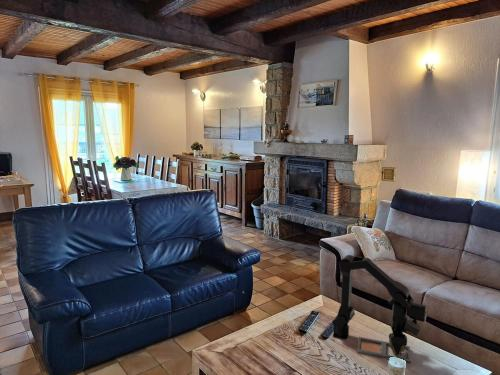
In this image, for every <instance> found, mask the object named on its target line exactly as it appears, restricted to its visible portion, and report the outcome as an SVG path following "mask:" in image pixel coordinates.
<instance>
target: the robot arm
mask: <svg viewBox="0 0 500 375" xmlns="http://www.w3.org/2000/svg"><path fill="white" fill-rule="evenodd" d="M338 263H339V271H340V274H341V294H340V295H341V298H340V299H341V300H340V306H339V309H338V311H337V314H336V315H335V317H334V319H333V320H332V321H331V322H332V325H333V334H332V337H333V338H338V339H343V340H348V337H349V334H350V326H349V322H350V321H351V320H352V319H353V317H355V315H356V314H355V309H356V306H353V305H352V286H353V285H352V284H353V274H354V271H355V270H363V269H364V270H365V271H366V272H368V273H369V274H370V276H372V277H373V278H374V279H375V280H376V281H378V282H379V283H380V285H382V286H383V287H384V288H385V289H386V290H387V292H388V294H389V295H390V296H391V298H390V299H389V300H388V302H387V303H388V304H390V305H391V306H392V312H391V316H390V323H389V324H390V328H391V343H392V345H393V347H394V350H395V352H396V354H399V352H400V350H401V347H402V346H403V345H406V346H408V337H407V335H406V334H405V333H408V332H409V333H410V334H412V335H414V336H415V337H418V335H419V333H420V332H421V331H422V330H421V329H422V328H421V325H420V323H418V322H422V323H426V320H427V314H428V313H427V312H428V310H427V306H426V305H425V304H421V303H420V304H419V303H415V302H414V299H413V297H412V296H411V294H410V289H409V288H408V287H407V286H406V285H405V284H403V283H401V282H399V281H397V280H394V279H393V278H392V277H390V276H389V275H388V274H387V273H386V272H385V271H384V270H383V269H381V268H380V267H379V266H378V265H377V264H376V263H375V262H373V261H372V259H371V258H369V257H362V256H353V255H351V254H347V255H345V256H344V257H343V258H342V259H340V261H339V262H338ZM408 318H410V319H408Z"/></svg>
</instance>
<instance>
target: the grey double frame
mask: <svg viewBox="0 0 500 375" xmlns="http://www.w3.org/2000/svg"><path fill="white" fill-rule="evenodd" d="M357 341H358V342H357V347H356V353H357V354H362V355H367V356H372V357H376V358H381V359H386V360H390V359H389V358H390V357H395V356H393V355H389V354H387V347H390V345H389V341H383V340H378V339H373V338H367V337H363V336H358V340H357ZM405 350H406V351H407V357H408V358H403V357H398V356H396V357H397V358H401V359H403V360H405V361H406V363H405V364H412V355H411V347H410V346H408V345H406V347H405Z"/></svg>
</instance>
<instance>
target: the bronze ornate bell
mask: <svg viewBox="0 0 500 375" xmlns="http://www.w3.org/2000/svg"><path fill="white" fill-rule="evenodd" d="M391 333H392V332H391ZM391 333H389V334H388V342H389V345H390V346H389V347H390V349H391V350H392V354H393V355H396V356H400V355H401V356H402V353H403V352H404V351H405V350H406V349H405V347H406V346H407V345H403V346H402V347H401V350H400V352H399V354H396V352H395V350H394V347H393V345H392V343H391Z"/></svg>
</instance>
